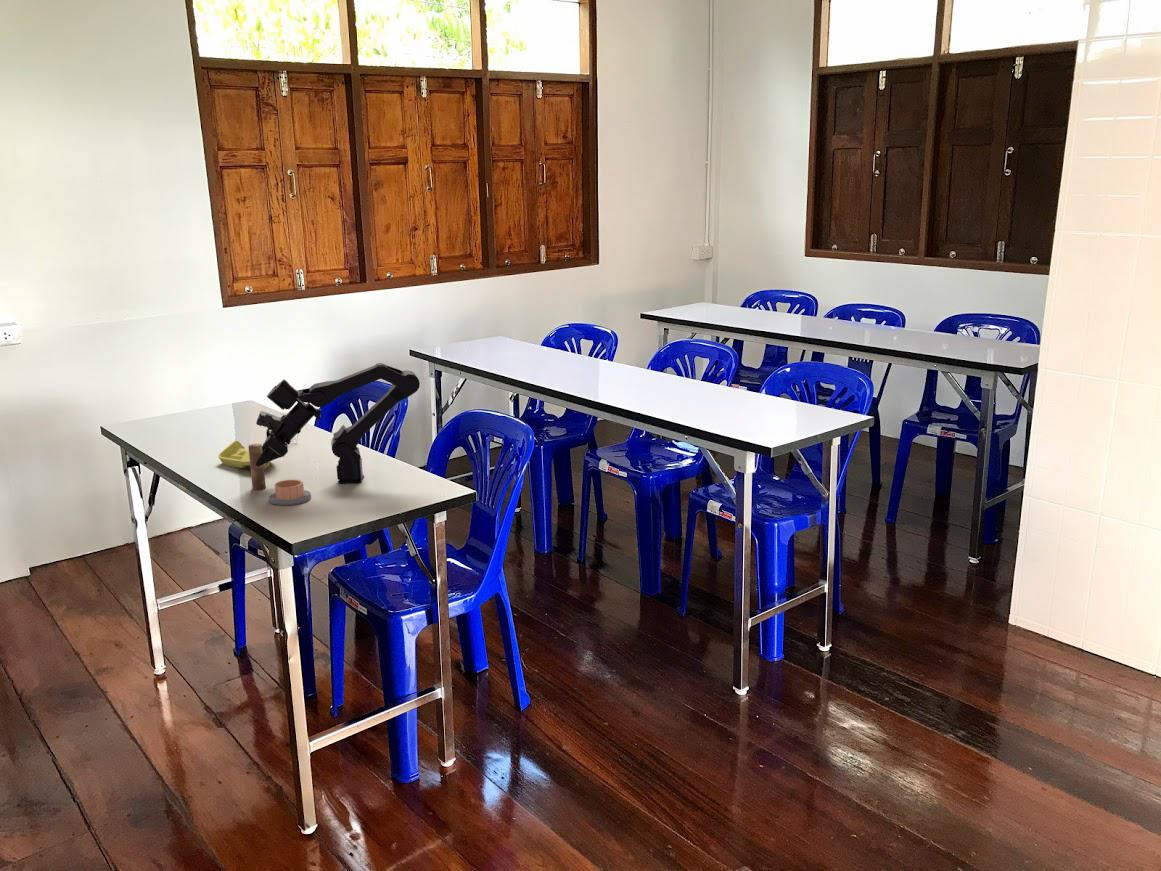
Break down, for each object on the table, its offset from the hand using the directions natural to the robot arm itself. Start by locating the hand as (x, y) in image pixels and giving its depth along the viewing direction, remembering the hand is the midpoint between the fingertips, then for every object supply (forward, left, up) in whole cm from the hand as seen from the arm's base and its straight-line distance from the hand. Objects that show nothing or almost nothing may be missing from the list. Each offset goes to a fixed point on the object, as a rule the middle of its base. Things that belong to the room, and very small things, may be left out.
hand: (257, 460), depth 272 cm
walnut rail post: (0, 0, -8) cm, 8 cm away
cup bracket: (-11, +11, -8) cm, 17 cm away
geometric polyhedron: (+4, -51, -8) cm, 52 cm away
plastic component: (+9, -23, -8) cm, 26 cm away
